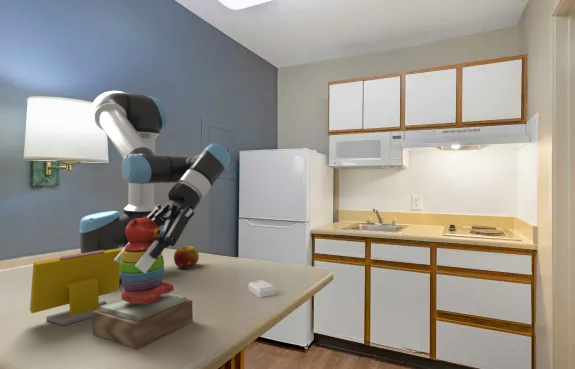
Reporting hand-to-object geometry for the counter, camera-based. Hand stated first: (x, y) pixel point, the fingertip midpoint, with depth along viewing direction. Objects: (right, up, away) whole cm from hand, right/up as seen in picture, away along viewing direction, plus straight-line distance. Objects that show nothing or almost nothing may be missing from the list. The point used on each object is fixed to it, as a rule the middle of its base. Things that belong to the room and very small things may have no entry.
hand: (129, 266), depth 75 cm
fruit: (-5, -15, +58) cm, 60 cm away
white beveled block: (+27, -15, +26) cm, 41 cm away
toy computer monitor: (-17, -15, +11) cm, 25 cm away
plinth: (+2, -15, +3) cm, 15 cm away
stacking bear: (+2, -7, +2) cm, 8 cm away
